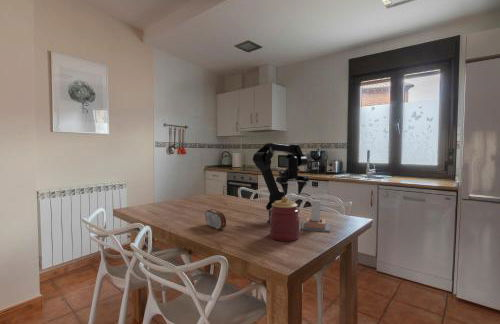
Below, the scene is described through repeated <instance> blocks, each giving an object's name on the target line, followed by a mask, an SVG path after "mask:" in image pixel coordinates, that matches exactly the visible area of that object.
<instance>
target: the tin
mask: <svg viewBox="0 0 500 324" xmlns="http://www.w3.org/2000/svg"><path fill="white" fill-rule="evenodd" d="M204 216H205V217H204V218H205V222H206V224H207V226H209V227H210V228H213V229H215V230H218V231H219V230H222V229H223V230H224V229H225V228H226V226H227V220H226V219H227V218H226V215H225V214H224V212H222V211H219V210H216V209H213V208H211V209H207V210H206V211H205V213H204Z"/></svg>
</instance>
